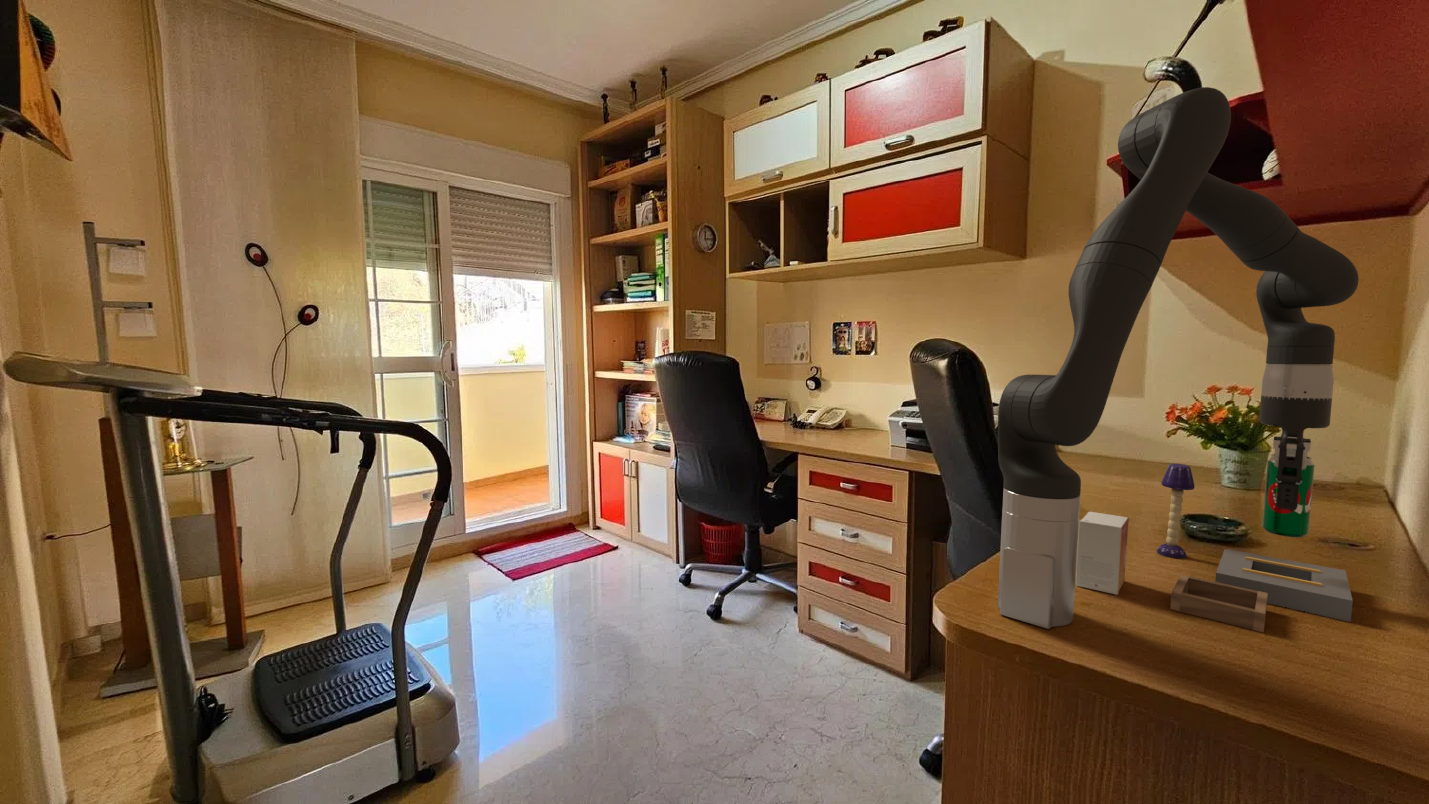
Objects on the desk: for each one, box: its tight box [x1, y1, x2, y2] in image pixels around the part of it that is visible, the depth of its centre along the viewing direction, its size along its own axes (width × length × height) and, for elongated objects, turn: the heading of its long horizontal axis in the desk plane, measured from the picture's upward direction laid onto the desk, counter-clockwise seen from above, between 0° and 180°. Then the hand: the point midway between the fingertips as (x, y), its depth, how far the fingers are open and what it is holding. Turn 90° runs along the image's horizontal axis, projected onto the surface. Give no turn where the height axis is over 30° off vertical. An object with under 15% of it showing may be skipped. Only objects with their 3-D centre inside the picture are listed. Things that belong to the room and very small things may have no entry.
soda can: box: [1261, 453, 1316, 538], centre depth 87 cm, size 5×5×12 cm
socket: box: [1214, 548, 1354, 623], centre depth 88 cm, size 16×14×3 cm
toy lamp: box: [1156, 463, 1195, 559], centre depth 103 cm, size 5×5×17 cm
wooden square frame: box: [1170, 574, 1268, 633], centre depth 81 cm, size 10×10×2 cm
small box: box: [1075, 511, 1130, 596], centre depth 90 cm, size 8×6×10 cm
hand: (1286, 504), depth 87 cm, fingers closed on soda can, 5 cm apart
